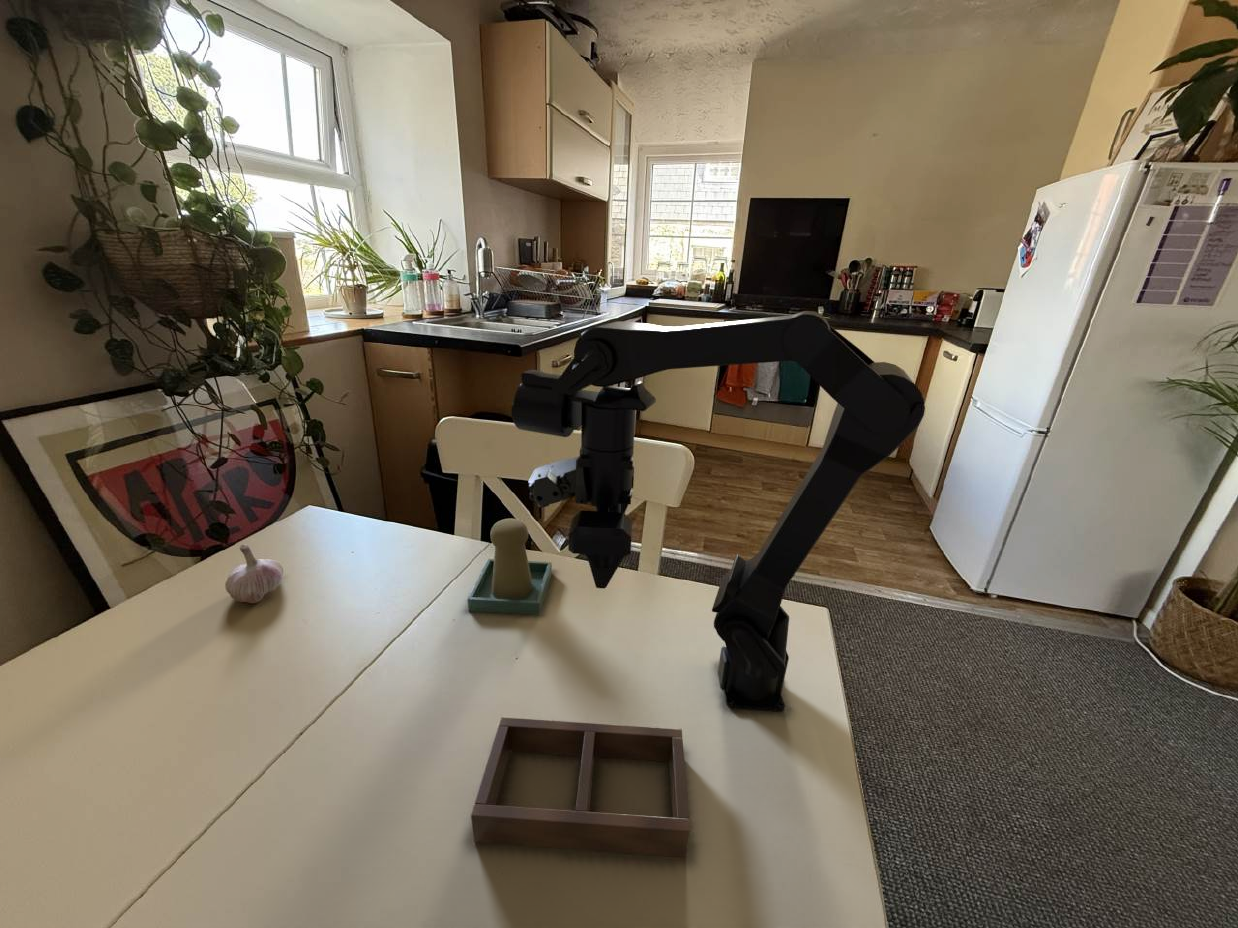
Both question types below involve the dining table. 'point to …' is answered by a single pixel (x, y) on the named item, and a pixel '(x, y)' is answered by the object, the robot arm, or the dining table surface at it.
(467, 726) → the dining table surface
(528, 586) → the tan pawn
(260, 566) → the garlic bulb
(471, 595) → the tray
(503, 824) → the divided wooden box
